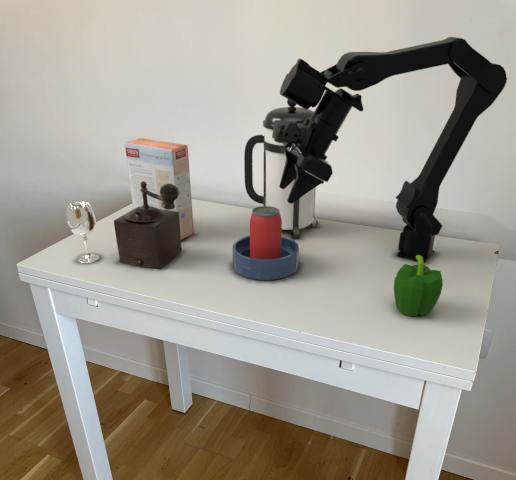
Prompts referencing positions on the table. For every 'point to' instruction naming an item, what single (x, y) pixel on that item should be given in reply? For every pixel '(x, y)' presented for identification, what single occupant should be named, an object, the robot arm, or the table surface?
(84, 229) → the wineglass
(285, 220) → the coffee press
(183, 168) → the cracker box
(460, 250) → the table surface
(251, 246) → the beer can
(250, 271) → the bowl
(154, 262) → the manual coffee grinder
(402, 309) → the bell pepper
